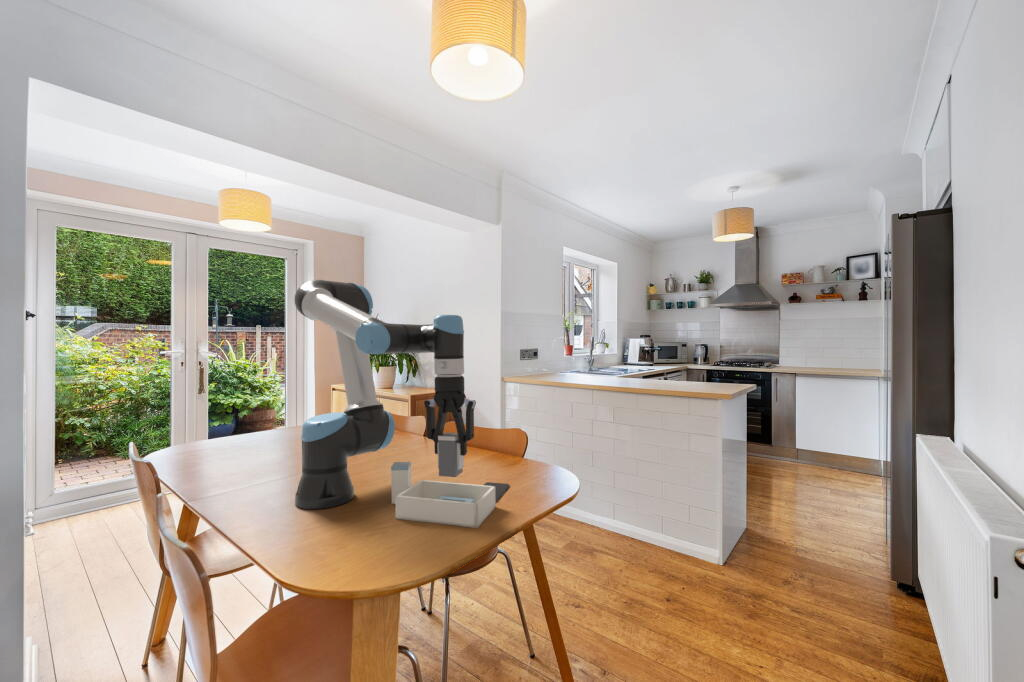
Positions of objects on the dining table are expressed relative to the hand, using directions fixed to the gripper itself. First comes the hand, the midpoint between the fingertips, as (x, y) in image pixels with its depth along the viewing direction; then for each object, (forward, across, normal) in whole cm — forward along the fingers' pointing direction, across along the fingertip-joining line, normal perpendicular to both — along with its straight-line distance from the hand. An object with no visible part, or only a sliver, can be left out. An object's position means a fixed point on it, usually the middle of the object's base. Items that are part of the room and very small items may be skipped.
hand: (450, 467), depth 111 cm
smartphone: (+12, +4, +17) cm, 22 cm away
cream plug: (+12, -18, +6) cm, 22 cm away
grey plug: (+2, 0, 0) cm, 2 cm away
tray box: (+12, -2, 0) cm, 12 cm away
